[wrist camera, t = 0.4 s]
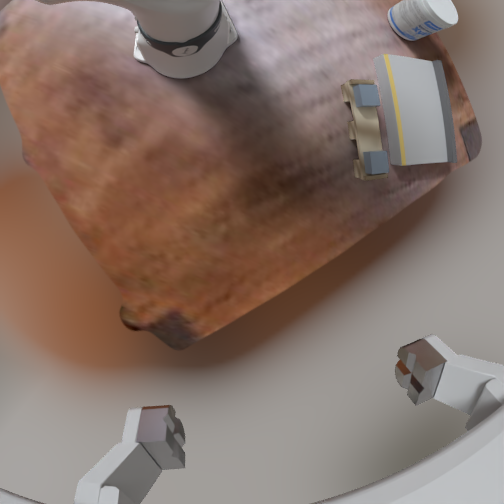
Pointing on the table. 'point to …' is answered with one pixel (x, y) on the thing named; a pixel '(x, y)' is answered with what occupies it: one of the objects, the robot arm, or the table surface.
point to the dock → (416, 110)
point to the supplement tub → (421, 17)
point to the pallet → (363, 130)
